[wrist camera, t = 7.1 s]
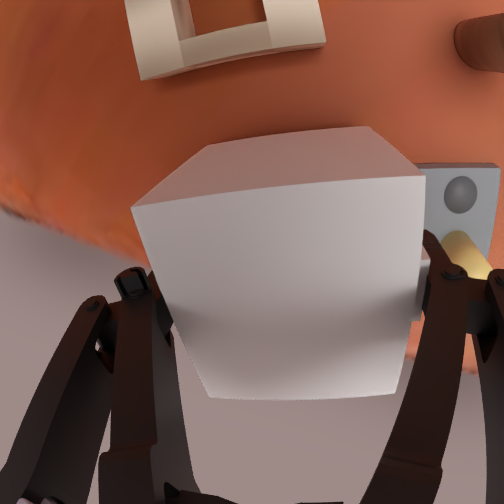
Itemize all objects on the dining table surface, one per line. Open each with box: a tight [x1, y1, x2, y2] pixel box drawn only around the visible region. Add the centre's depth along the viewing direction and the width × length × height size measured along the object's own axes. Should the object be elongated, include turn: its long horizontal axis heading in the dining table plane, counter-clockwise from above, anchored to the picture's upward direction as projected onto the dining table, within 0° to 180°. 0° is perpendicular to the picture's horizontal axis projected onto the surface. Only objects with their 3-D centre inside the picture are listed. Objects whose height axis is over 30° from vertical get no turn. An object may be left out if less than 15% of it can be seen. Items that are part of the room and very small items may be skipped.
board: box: [414, 163, 501, 280], centre depth 15 cm, size 7×6×5 cm
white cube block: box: [130, 126, 426, 400], centre depth 13 cm, size 9×8×8 cm
